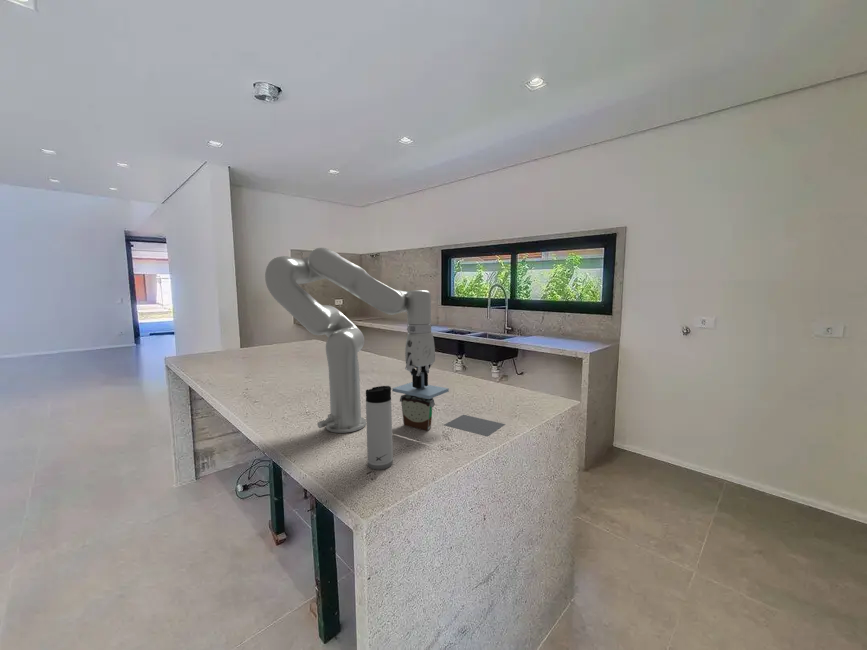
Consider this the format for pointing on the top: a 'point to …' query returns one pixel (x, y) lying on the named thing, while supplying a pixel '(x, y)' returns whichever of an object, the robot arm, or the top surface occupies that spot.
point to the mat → (475, 425)
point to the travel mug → (379, 427)
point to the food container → (417, 411)
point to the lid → (421, 389)
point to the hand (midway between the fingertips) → (420, 386)
